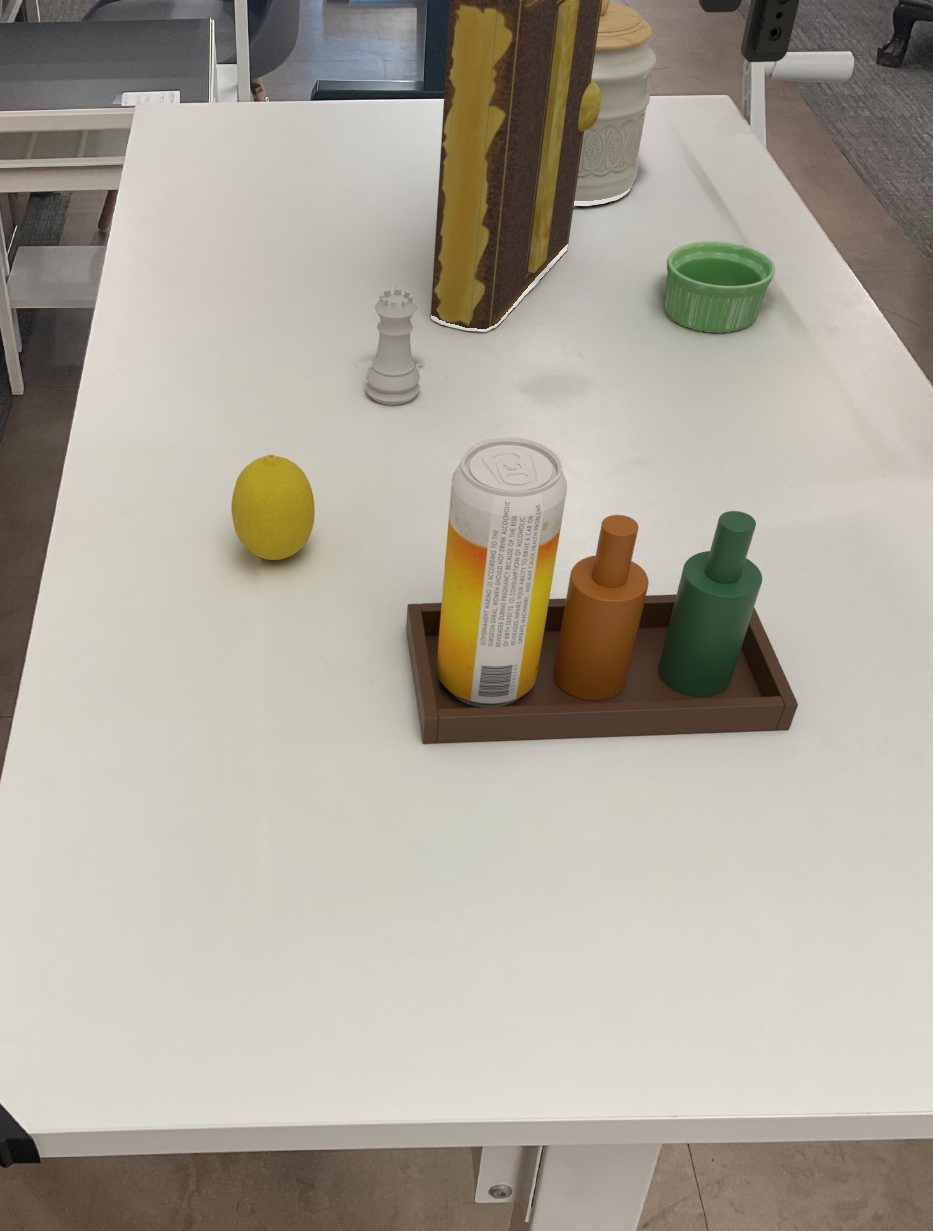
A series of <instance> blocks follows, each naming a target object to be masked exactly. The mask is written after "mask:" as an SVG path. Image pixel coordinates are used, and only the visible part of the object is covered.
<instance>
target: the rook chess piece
mask: <svg viewBox="0 0 933 1231" xmlns="http://www.w3.org/2000/svg"><path fill="white" fill-rule="evenodd" d="M413 297H414V295H413V294H412V292H411V291H409V290H408V289H406V290H404V294H402V288H400V287H399V288H397V287H395V288H394V293H392V294H391V289H390V288H387V289H384V290H383V293H382V292H380V293H379V299H378V301H377V302H376V303H375V305H374V308H373V309H374V311H375V312H376V314H377V315H378V316H379V322H378V323H377V325H376V328H377V330H378V344H377V350H376V355H375V358H374V359H373V360H372V362H371V366H369V367H368V369H367V373H366V376H365V379H366V381H367V382H366V383H365V386H364V389H365V392H366V393H367V394H368V396H369V397H370V399H372V400H373V401H374V402H376V403H379V404H382V405H385V406H386V405H388V406H397V405H404V404H407V403H409V402H411V401H412V400H414V398H415V397H416V396H417V395H418V394H419V393H420V390H421V386H420V384H419V382H420V378H421V375H420V371H419V369H418V368H417V367H416V362H415V361H414V358H413V356H412V346H411V332H412V331H413V329H414V326H413V324H412V322H411V319H412V317H413V316H414V315H415V314H416V312H417V310H418V306H417V305H416V303H415V302H414V301H413Z"/></svg>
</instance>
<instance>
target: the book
mask: <svg viewBox="0 0 933 1231" xmlns="http://www.w3.org/2000/svg"><path fill="white" fill-rule="evenodd" d="M601 7H602V0H449V11H448V29H447V41H446V42H447V43H446V44H447V45H446V59H445V75H444V76H445V77H444V92H443V110H442V123H441V124H442V126H441V140H440V141H441V142H440V158H439V172H438V189H437V190H438V191H437V206H436V220H435V222H436V223H435V238H434V239H435V240H434V254H433V255H434V256H433V268H432V269H433V271H432V288H431V300H430V301H431V302H430V316H431V315H432V316H435V317H437V318H438V319H439V320H442V321H445V322H446V323H450V324H455V325H459V326H462V327H465V328H477V329H487V328H489V327H491V326H494V325H495V324H497V323H498V322H499V321H500V320H501V318H502V317H503V316H504V315H505V314H506V312H508V310H509V309H510V308H511V307H512V306H513V304H514V303H515V302H516V301H517V300H518V298H519V297H520V296H521V295H522V293H523V292H524V291H525V290H526V289H527V288H528V286H529V285H530V284H531V283H532V282H533V281H534V280H535V278H536V277H537V276H538V275H539V274H540V273H541V272H542V271H543V270H544V269H545V268H546V267H547V265H548V264H549V263H550V262H551V261H552V260H553V259H554V258H555V257H556V256H557V255H558V254H559V252H560V251H561V250H562V249H563V248H564V247H565V246H566V245H567V244H568V245H569V242H570V235H571V229H572V220H573V215H574V214H573V213H574V208H575V207H574V200H575V193H576V186H577V179H578V171H579V164H580V157H581V150H582V143H583V136H584V131H586V130H587V129H589V128H590V127H592V126H593V125H594V124H595V123H596V120H597V118H598V116H599V113H600V106H601V99H602V95H601V89H600V88H599V87H598V85H597V84H596V83H595V82H594V81H593V80H591V78H592V71H593V64H594V57H595V50H596V43H597V35H598V28H599V21H600V14H601Z"/></svg>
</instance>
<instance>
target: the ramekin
mask: <svg viewBox="0 0 933 1231" xmlns="http://www.w3.org/2000/svg"><path fill="white" fill-rule="evenodd" d="M666 271H667V276H666V285H665V293H664V303H663V304H664V305H663V306H664V310H665V313H666V312H667V313H666V314H667V316H668V315H669V316H670V317H671V318H672V319H673V320H672V319H671V318H670V317H669V316H668V317H669V318H670V319H671V320H672V321H674V322H675V321H676V322H675V323H677V324H678V323H679V324H678V325H680V324H681V325H680V326H682V325H683V326H682V327H684V326H686V327H685V328H687V327H688V328H687V329H690V328H692V329H691V330H693V329H694V330H693V331H697V330H700V331H699V332H702V331H705V332H704V333H710V332H718V333H717V334H724V333H723V332H727V333H732V332H731V331H733V332H737V330H738V331H741V330H743V329H747V328H748V327H749V325H750V326H751V325H752V324H753V323H754V322H756V320H757V319H758V316H759V313H760V312H761V311H760V310H761V309H762V305H763V301H764V299H765V295H766V293H767V291H768V287H769V286H770V284H771V282H772V281H773V279H774V276H775V273H776V266H775V263H774V262H773V260H772V259H771V258H770V257H769V256H767V255H766V254H764V253H763V252H761V251H759V250H757V249H755V248H753V247H749V246H746V245H742V244H738V243H733V242H729V241H715V240H710V241H709V240H708V241H697V242H690V243H686V244H684V245H681V246H678V247H676V248H675V249H673V250H672V251H671V252H670V253H669V254H668V257H667V260H666ZM740 329H741V330H740ZM721 332H722V333H721Z"/></svg>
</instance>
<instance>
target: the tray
mask: <svg viewBox="0 0 933 1231" xmlns="http://www.w3.org/2000/svg"><path fill="white" fill-rule="evenodd" d="M676 595H677V593H676V594H652V595H651V594H649V595H647V594H646V597H645V602H644V606H643V610H642V615H641V619H640V623H639V628H638V632H637V636H636V641H635V645H634V649H633V654H632V658H631V662H630V667H629V671H628V675H627V680H626V684H625V686H624V688H623V689H622V691H621V692H620V693H618V694H617V695H615V696H614V697H611V698H609V699H605V700H597V701H592V700H584V699H580V698H576V697H574V696H571V695H569V694H568V693H566V692H565V691H563V690H562V689H561V688H560V687H559V686H558V685H557V683H556V681H555V678H554V666H555V660H556V655H557V649H558V643H559V637H560V632H561V626H562V620H563V614H564V608H565V603H566V598H562V597H561V598H549V604H548V610H547V616H546V622H545V629H544V635H543V641H542V647H541V653H540V660H539V666H538V672H537V678H536V681H535V683H534V685H533V687H532V688H531V689H530V690H529V691H528V692H527V693H526V694H524V695H523V696H521V697H520V698H518V699H517V700H516V701H514V702H512V703H510V704H508V705H505V706H501V707H476V706H472V705H469V704H466V703H464V702H462V701H460V700H458V699H457V698H455V697H454V696H453V695H452V694H451V693H450V692H449V690H448V689H447V688H446V687H445V686H444V685H443V684H442V682H441V681H440V679H439V677H438V675H437V655H438V643H439V630H440V618H441V606H442V602H426V603H425V602H424V603H422V602H421V603H407V606H406V622H405V623H406V624H405V630H406V638H407V644H408V645H407V646H408V651H409V658H410V665H411V670H412V671H411V672H412V678H413V685H414V693H415V698H416V707H417V712H418V719H419V726H420V733H421V739H422V744H423V745H442V744H443V745H444V744H466V743H467V744H468V743H493V742H497V743H498V742H521V741H548V740H572V739H573V740H575V739H601V738H623V737H624V738H627V737H628V738H629V737H651V736H653V737H655V736H675V735H676V736H679V735H680V736H681V735H703V734H727V733H730V734H731V733H732V734H733V733H754V732H755V733H756V732H757V733H758V732H781V731H782V732H783V731H789V730H790V728H791V725H792V723H793V720H794V718H795V715H796V712H797V709H798V706H799V703H798V701H797V698H796V696H795V694H794V692H793V690H792V688H791V685H790V683H789V681H788V679H787V676H786V674H785V672H784V669H783V667H782V665H781V663H780V661H779V659H778V656H777V654H776V652H775V650H774V647H773V645H772V643H771V640H770V639H769V636H768V633H767V632H766V630H765V627H764V625H763V623H762V621H761V619H760V616H759V614H758V612H757V610H756V607H755V606H754V609H753V612H752V615H751V619H750V622H749V625H748V628H747V631H746V635H745V638H744V641H743V644H742V647H741V650H740V654H739V657H738V660H737V663H736V666H735V670H734V673H733V676H732V679H731V682H730V684H729V686H728V687H727V688H726V689H725V690H724V691H723V692H721V693H719V694H716V695H713V696H708V697H696V696H689V695H685V694H682V693H680V692H677V691H675V690H674V689H672V688H670V687H669V686H668V685H667V684H665V683H664V681H663V680H662V679H661V677H660V675H659V671H658V666H659V662H660V658H661V654H662V650H663V646H664V642H665V638H666V634H667V630H668V626H669V622H670V618H671V614H672V610H673V607H674V603H675V599H676Z"/></svg>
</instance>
